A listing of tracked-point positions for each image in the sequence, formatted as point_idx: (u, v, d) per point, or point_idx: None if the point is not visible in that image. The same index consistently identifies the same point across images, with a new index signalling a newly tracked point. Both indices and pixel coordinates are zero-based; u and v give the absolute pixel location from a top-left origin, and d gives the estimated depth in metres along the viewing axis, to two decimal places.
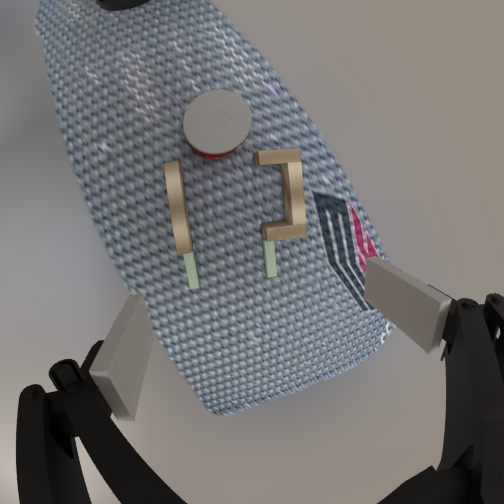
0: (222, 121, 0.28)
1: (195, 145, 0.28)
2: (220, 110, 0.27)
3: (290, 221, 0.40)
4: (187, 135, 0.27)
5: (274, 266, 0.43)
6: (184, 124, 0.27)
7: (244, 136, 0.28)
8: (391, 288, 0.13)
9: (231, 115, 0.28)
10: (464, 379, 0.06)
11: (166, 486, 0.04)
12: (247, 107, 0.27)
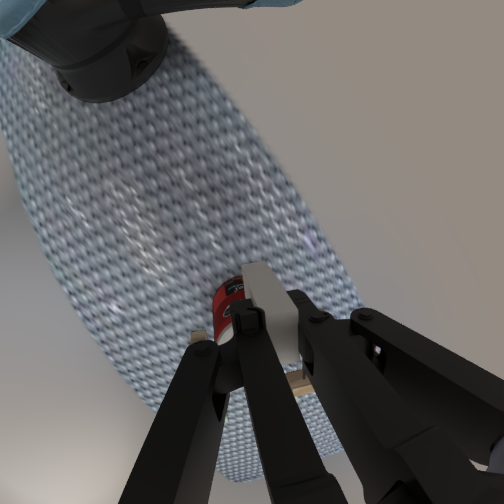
0: None
1: None
2: None
3: None
4: None
5: None
6: None
7: None
8: None
9: None
10: (348, 409, 0.06)
11: (310, 438, 0.05)
12: None
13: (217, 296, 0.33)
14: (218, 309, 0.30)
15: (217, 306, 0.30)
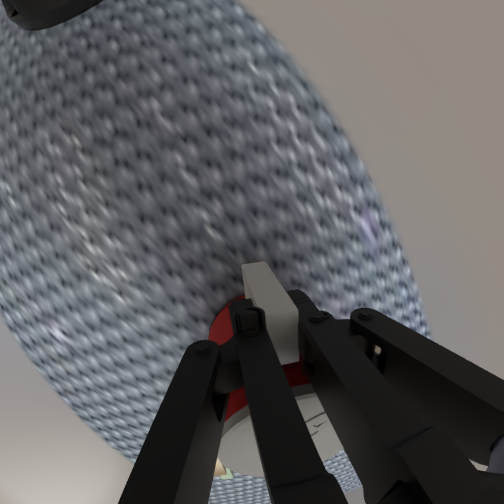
0: None
1: (247, 474, 0.11)
2: None
3: None
4: (230, 467, 0.11)
5: None
6: (221, 457, 0.10)
7: (342, 448, 0.12)
8: None
9: (326, 426, 0.11)
10: (348, 409, 0.06)
11: (310, 438, 0.05)
12: None
13: (216, 327, 0.18)
14: None
15: None
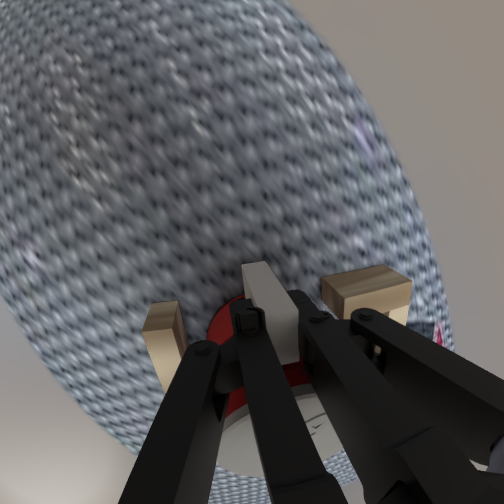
0: None
1: (241, 474, 0.11)
2: None
3: None
4: (224, 466, 0.10)
5: None
6: None
7: (336, 451, 0.12)
8: None
9: (324, 428, 0.11)
10: (349, 408, 0.06)
11: (310, 438, 0.05)
12: None
13: (216, 324, 0.18)
14: None
15: None
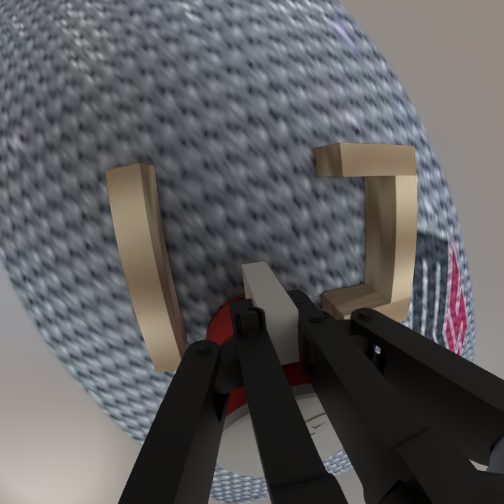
0: None
1: (240, 474, 0.11)
2: None
3: (382, 292, 0.19)
4: (224, 466, 0.10)
5: None
6: None
7: (336, 451, 0.12)
8: None
9: (323, 428, 0.11)
10: (348, 409, 0.06)
11: (310, 438, 0.05)
12: None
13: (216, 324, 0.18)
14: None
15: None
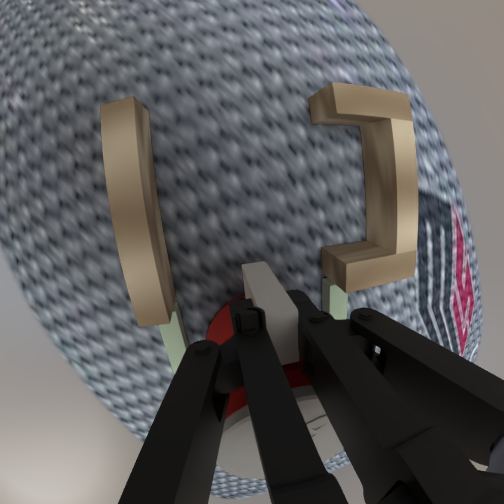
0: None
1: (240, 476, 0.11)
2: None
3: (386, 245, 0.18)
4: (224, 468, 0.10)
5: None
6: None
7: (337, 453, 0.11)
8: None
9: (324, 430, 0.11)
10: (348, 409, 0.06)
11: (310, 438, 0.05)
12: None
13: (216, 325, 0.18)
14: None
15: None
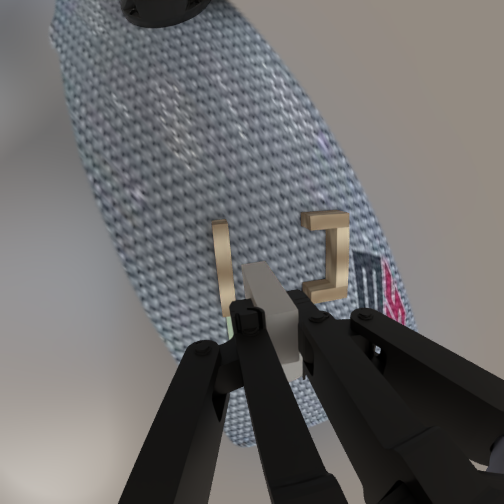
0: None
1: None
2: None
3: (332, 282, 0.40)
4: None
5: None
6: None
7: None
8: None
9: (299, 356, 0.33)
10: (348, 409, 0.06)
11: (310, 438, 0.05)
12: None
13: None
14: None
15: None
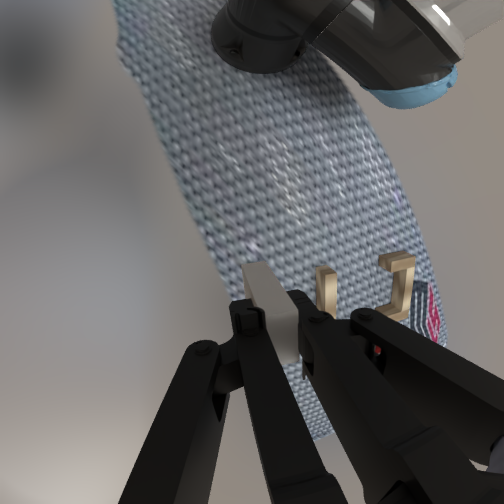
0: None
1: None
2: None
3: (398, 307, 0.47)
4: None
5: None
6: None
7: None
8: None
9: None
10: (348, 409, 0.06)
11: (310, 438, 0.05)
12: None
13: None
14: None
15: None
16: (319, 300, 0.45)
